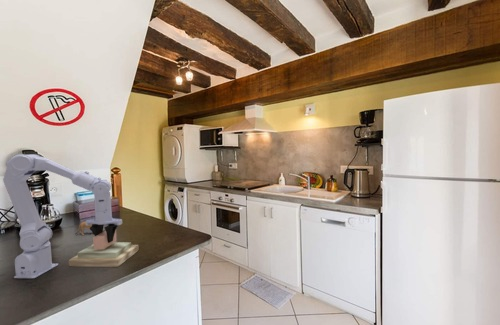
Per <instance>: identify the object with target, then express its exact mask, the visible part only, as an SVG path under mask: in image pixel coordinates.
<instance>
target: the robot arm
mask: <svg viewBox="0 0 500 325" xmlns="http://www.w3.org/2000/svg"><path fill="white" fill-rule="evenodd" d="M5 165H6V168H5V172H4V175H3V180H2V182H3V184H4V187H5V189H6V192H7V194H8V197H9V199H10V202H11V204H12V206H13V208H14V212H15V213H16V214H15V215H16V216H17V218H18V221H19V224H20V226H21V227H20V231H19V237H20V240H19V247H20V248H21V250H23V252H22V253H20V254H19V255H17V256H16V257H15V259H14V267H15V268H14V270H15V271H14V272H15V275H14V276H13V278H14V279H35V278H37V277H39V276H41V275H43V274H45V273H47V272H48V271H50V270H52V269H54V268H56V267H57V266H59V263H53V261H52V259H53V258H52V247H51V246H52V245H51V242H50V240H51V239H52V236H53V230H52V229H51V228H50V227H49V226H48V225H47V223H46V222H45V221H43V220H42V219H41V216H40V213H39V211H38V208H37V207H36V204H35V202H34V201H35V200H34V199H33V196H32V194H31V191H30V189H29V188H30V187H29V186H28V183H27V180H28V179H29V178H30V177H31V176H32V175H33V174H34V173H36V172H38V171H39V172H41V171H48V172H51V173H52V174H55V175H58V176H61V177H64V178H66V179H69V180H70V181H71V183H72V184H73V185H75V186H78V187H80V188H83V189H85V190H87V191H90V192H92V194H93V195H94V196H93V197H94V217H95V218H93V219H86V220H85V222H86V225H92V227H90V229H89V231H91V232H92V234H93V235H94V236H96V235H98V234H100V233H102V232H104V230H105V231H106V233H107V240H108V243H110V242H112V241H113V237H114V233H115V231H116V232H117V228H118V226H121V225H122V224H123V219H121V218H115V217H114V218H113V215H112V214H113V213H112V197H111V192H110V191H111V189H112V185H111V183H110V181H108V180H107V179H102V178H101V177H99V176H97V177H96V176H94V175H93V174H90V172H89V171H82V170H81V171H74V170H73V169H72V168H68V167H67V166H65V165H62V164H60V163H58V162H56V161H54V160H52V159H49V158H47V157H44V156H41V155H39V154H36V153H35V154H34V153H31V154H23V153H20V154H16V155H14V156H12V157H11V158H10V159H9V160H7V162H6V163H5ZM104 226H105V227H104Z"/></svg>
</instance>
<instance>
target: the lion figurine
mask: <svg viewBox="0 0 500 325" xmlns="http://www.w3.org/2000/svg"><path fill="white" fill-rule="evenodd" d="M90 227H92V225H86V221H83V222H81V223H80V224H79V226H78V229H77V232H75V233H74V235H77V234H79V233H80V234H81V235H82V236H85V233H84V230H86V229H87V230H90Z"/></svg>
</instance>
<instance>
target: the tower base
mask: <svg viewBox="0 0 500 325" xmlns="http://www.w3.org/2000/svg"><path fill="white" fill-rule="evenodd" d="M139 250H140V249H139V244H132V242H128V241H125V242H124V241H122V242H121V241H119V242H118V241H116V242H115V243H113V244H111V245H110V246H108V247H106V248H105V249H94V244H93V243H92V244H91V245H89V246H86V247H85V248H84V249H82V250H80V251H78V252H77V255H75V256H73V257H71V258H70V259H69V260H68V267H87V268H88V267H89V268H90V267H95V268H96V267H97V268H98V267H99V268H101V267H102V268H105V267H106V268H107V267H111V268H114V267H115V268H117V267H119V266H121V265H122V264H123V263H124V262H126V261H127V260H129V259H130V258H131V257H132V256H133V255H135V254H136V253H137V252H138V251H139Z"/></svg>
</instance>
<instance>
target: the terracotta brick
mask: <svg viewBox="0 0 500 325" xmlns="http://www.w3.org/2000/svg"><path fill="white" fill-rule="evenodd" d="M92 241H93V243H92V244H94V249H105V248H106V247H108V246H110V245H111V244H113V243H115V242H118V241H117V230H116V231H115V233H114V237H113V241H112V242H110V243H108V240H107V233H106V230H105V231H104V230H103V232H102V233H100V234H98V235H96V236H95V235H94V236H93V237H92Z"/></svg>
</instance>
